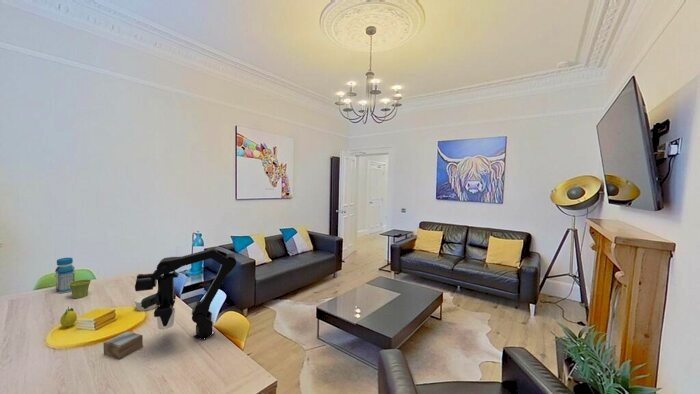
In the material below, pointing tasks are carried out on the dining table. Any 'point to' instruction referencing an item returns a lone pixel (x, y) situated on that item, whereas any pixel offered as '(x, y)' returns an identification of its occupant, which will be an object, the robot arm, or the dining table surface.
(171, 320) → the shot glass
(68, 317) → the green pear
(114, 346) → the walnut plinth
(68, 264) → the beverage bottle
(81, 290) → the plant pot
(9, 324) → the dining table surface
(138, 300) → the ramekin
